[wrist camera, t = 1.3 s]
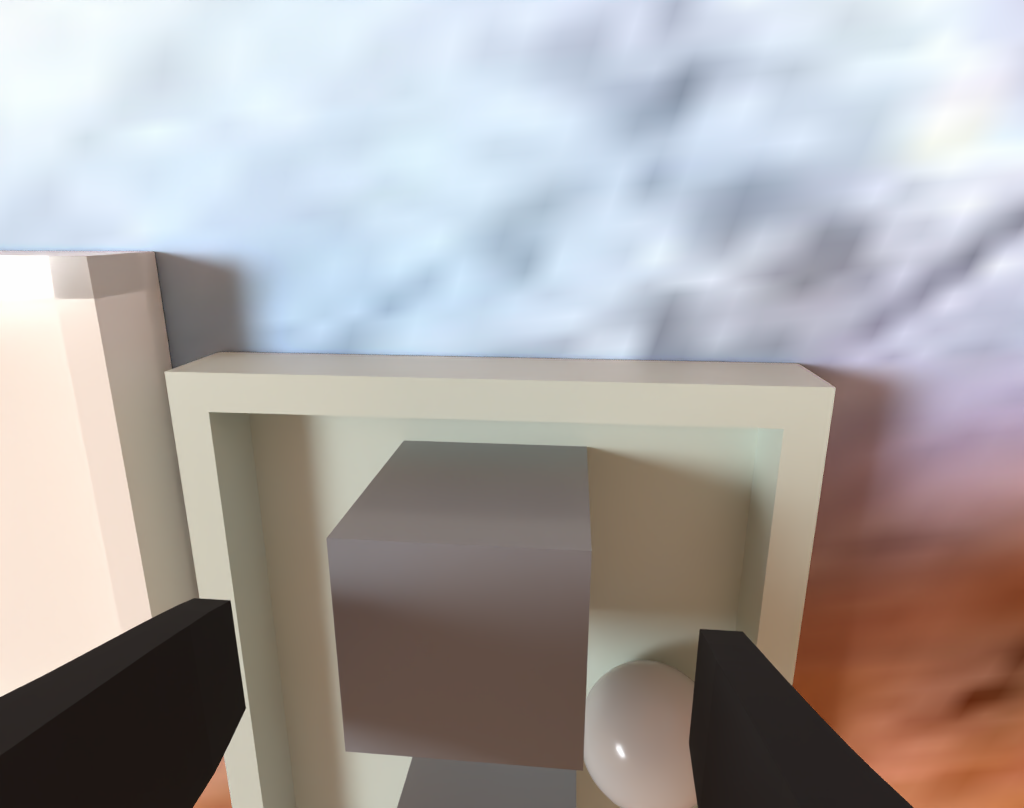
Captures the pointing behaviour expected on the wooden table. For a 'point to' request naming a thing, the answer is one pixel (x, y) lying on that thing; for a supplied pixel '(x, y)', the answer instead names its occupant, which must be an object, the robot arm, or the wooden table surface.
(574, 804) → the grey cube
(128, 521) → the dish
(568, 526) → the grey cube
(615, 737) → the pale pink ball
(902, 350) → the wooden table surface
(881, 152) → the wooden table surface
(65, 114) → the wooden table surface
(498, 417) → the bin
